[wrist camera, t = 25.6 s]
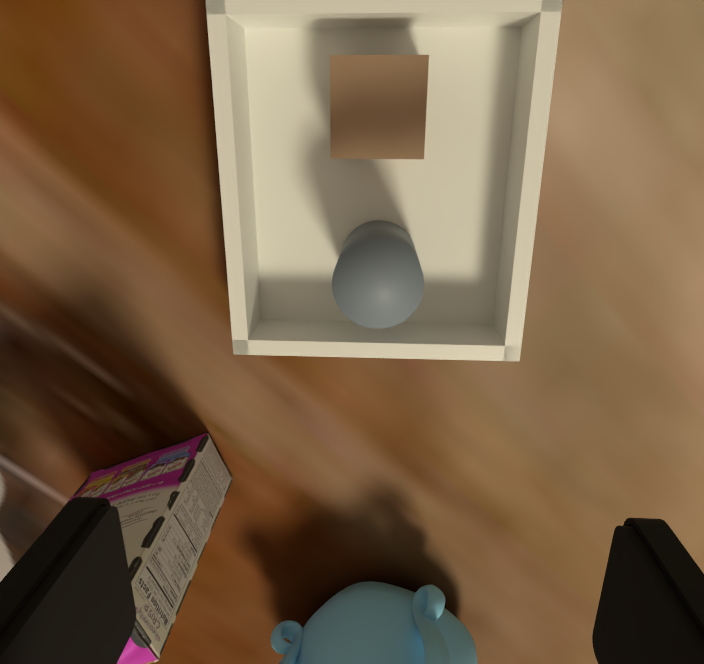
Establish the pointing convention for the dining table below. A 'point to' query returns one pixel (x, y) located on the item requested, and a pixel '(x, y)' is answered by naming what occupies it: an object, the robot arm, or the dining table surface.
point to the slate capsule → (378, 276)
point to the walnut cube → (378, 106)
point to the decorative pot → (378, 629)
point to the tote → (381, 170)
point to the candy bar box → (162, 529)
